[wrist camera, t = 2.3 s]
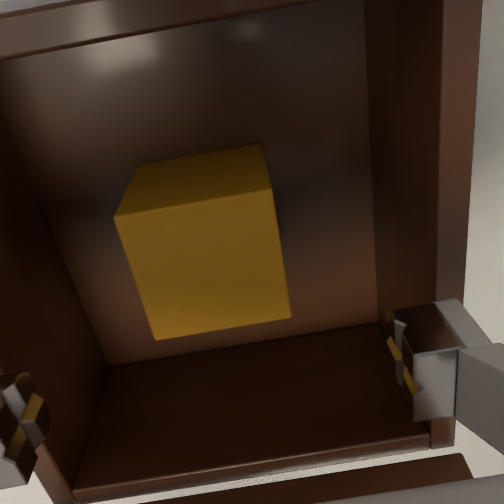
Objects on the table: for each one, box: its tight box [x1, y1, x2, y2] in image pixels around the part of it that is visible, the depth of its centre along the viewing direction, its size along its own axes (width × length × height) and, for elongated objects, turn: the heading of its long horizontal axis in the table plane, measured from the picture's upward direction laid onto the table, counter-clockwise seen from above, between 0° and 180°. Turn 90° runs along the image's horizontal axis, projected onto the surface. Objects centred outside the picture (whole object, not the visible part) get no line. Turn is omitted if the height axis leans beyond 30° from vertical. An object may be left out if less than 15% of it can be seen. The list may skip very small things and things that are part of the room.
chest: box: [0, 0, 483, 504], centre depth 15 cm, size 15×14×7 cm
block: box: [114, 144, 292, 341], centre depth 16 cm, size 4×4×4 cm
